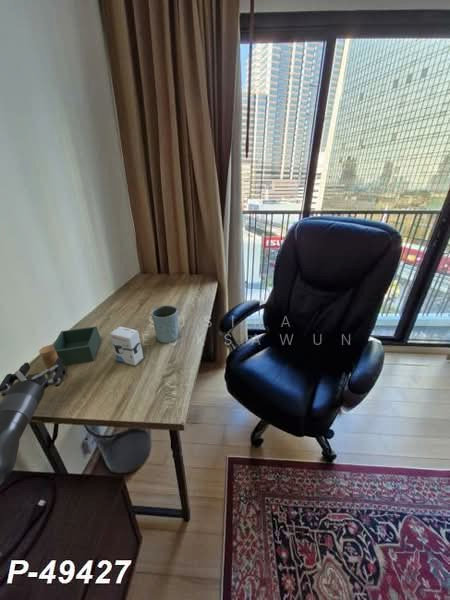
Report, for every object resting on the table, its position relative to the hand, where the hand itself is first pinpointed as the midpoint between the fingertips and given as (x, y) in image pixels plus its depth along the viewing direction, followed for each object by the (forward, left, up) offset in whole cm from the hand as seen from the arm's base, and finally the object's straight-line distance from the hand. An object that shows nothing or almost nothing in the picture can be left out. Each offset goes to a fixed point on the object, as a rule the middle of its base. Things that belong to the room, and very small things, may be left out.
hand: (44, 362), depth 74 cm
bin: (+3, +17, -10) cm, 20 cm away
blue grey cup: (+36, +19, -10) cm, 42 cm away
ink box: (+22, +8, -10) cm, 25 cm away
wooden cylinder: (0, +4, -10) cm, 11 cm away
